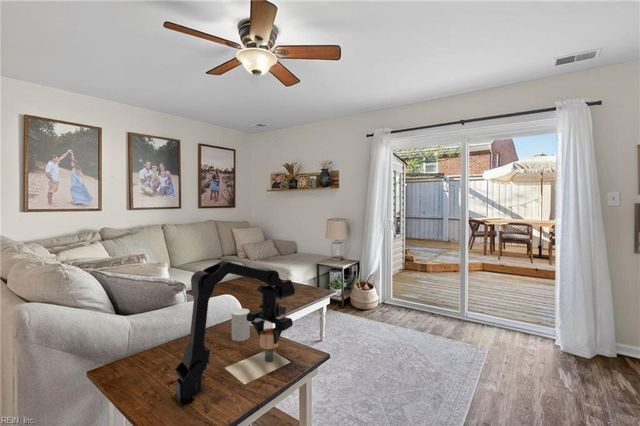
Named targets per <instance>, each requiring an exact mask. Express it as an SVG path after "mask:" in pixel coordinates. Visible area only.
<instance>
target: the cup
mask: <svg viewBox="0 0 640 426" xmlns="http://www.w3.org/2000/svg"><path fill="white" fill-rule="evenodd" d="M249 312H251V311H250V309H248V308H237V309H234V310H232V311H231V340H232V341H235V342H244V341H247V340H249V338H250V336H251V335H250V334H251V333H250V332H251V328H250V327H251V326H250V325H251V322H250V321H247V314H248V313H249ZM246 339H247V340H246Z"/></svg>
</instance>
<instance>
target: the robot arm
mask: <svg viewBox="0 0 640 426" xmlns="http://www.w3.org/2000/svg"><path fill="white" fill-rule="evenodd" d="M229 274H230V275H235V276H240V277H244V278H245V277H246V278H249V279H253V280H256V281H259V282H261V283H264V284H266V285H263V284H260V285H259V286H258V287H257V288H256V292H259V293H260V294H261V304H259V309H261V310H259V309H254V310H252V311H250V312H249V313H248V314H247V321H250V325H252V326H253V328H254V329H255V331H256V333H257V335H258V337H259V338H260V331H261V330H263V329H265V323H266V322H267V323H271V324H274V327H272V328H273V329H272V330H273V336H274V342H275V344H277V343H278V344H279V339H280V337H281V335H282V333H283V331H286V330H288V329H290V328H292V327H293V326H294V324H293V319H292V318H290V317H286V316H285V315H286V312H287V306H283V305H280V303H279V302H278V301H277V299H278V300H283V299H287V298H291V297H294V295H295V292H296V289H295V286H294V284H293V282H292V281H293V280H292V279H291V280H290V279H284V280H282V279H281V278H280V274H279V271H277V270H274V269H272V268H269V267H253V266H252V267H251V266H248V265H244V264H239V263H236V262H231V261H229V260H225V259H224V260H221V261H218V262H217V263H215V264H213V265H211V266H208V267H206V268H204V269H203V270H198V271H195V273H193V274H192V275H191V279H190V284H191V285H190V287H191V293H192V297H193V304H192V313H191V314H192V315H191V323H190V334H189V342H188V344H187V346H186V347H185V349H184V353H183V357H182V360H181V362H180V363H178V365H177V366H176V367H175V368H174V372H175V374H176V376H177V377H178V379H176V394H175V395H174V398H175V400H176V401H177V402H178V403H179V405H180V406H186V405H188V404H190V403H192V402H194V401H195V398H194V396H196V395H197V394H198V393H199V392H200V391H201V390H202V378H203V373H204V371H206V369H207V367H208V364H210V359H209V358H210V353H211V350H210V349H209V348H208V347H207V346H206V345H205V338H206V337H205V336H206V330H207V329H206V328H207V327H206V326H207V319H208V310H209V300H210V299H211V297H212V295H213V294H214V291H215V287H216V285H218V284H219V283H220V282H222V280H224V279H225V277H227V275H229ZM281 315H283V317H281ZM279 317H281V318H279Z"/></svg>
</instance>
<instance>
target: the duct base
mask: <svg viewBox="0 0 640 426" xmlns="http://www.w3.org/2000/svg"><path fill="white" fill-rule="evenodd" d="M290 363H291V361H290V360H288V359H286V358H285V357H283V356H281V355H280V354H279V353H277V352H275V351H274V348H273V349H264V350H263V351H261V352H259V353H257V354H254V355H252V356H250V357H248V358H245V359H243V360H240V361H238V362H236V363H233V364H230V365H228V366H225V367H224V369H225V370H226V371H228V373H230V374H231V375H232V376H233V377H234V378H236V379H237V380H239V382H241V383H242V384H244V385H246V384H249V383H251V382H253V381H255V380H257V379H260V378H261V377H263V376H265V375H267V374H269V373H271V372H273V371H276V370H278V369H280V368H283V366H286V365H288V364H290Z"/></svg>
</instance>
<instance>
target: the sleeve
mask: <svg viewBox="0 0 640 426" xmlns="http://www.w3.org/2000/svg"><path fill="white" fill-rule="evenodd" d="M273 328H274V327H268V328H264V329H263V330H261V331H260V337H259V347H260V348H261V349H264V350H265V349H273V350H274V349H275V348H277V347H278V346H279V342H278V343H277V344H275V342H274V336H273V330H272V329H273Z"/></svg>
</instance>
